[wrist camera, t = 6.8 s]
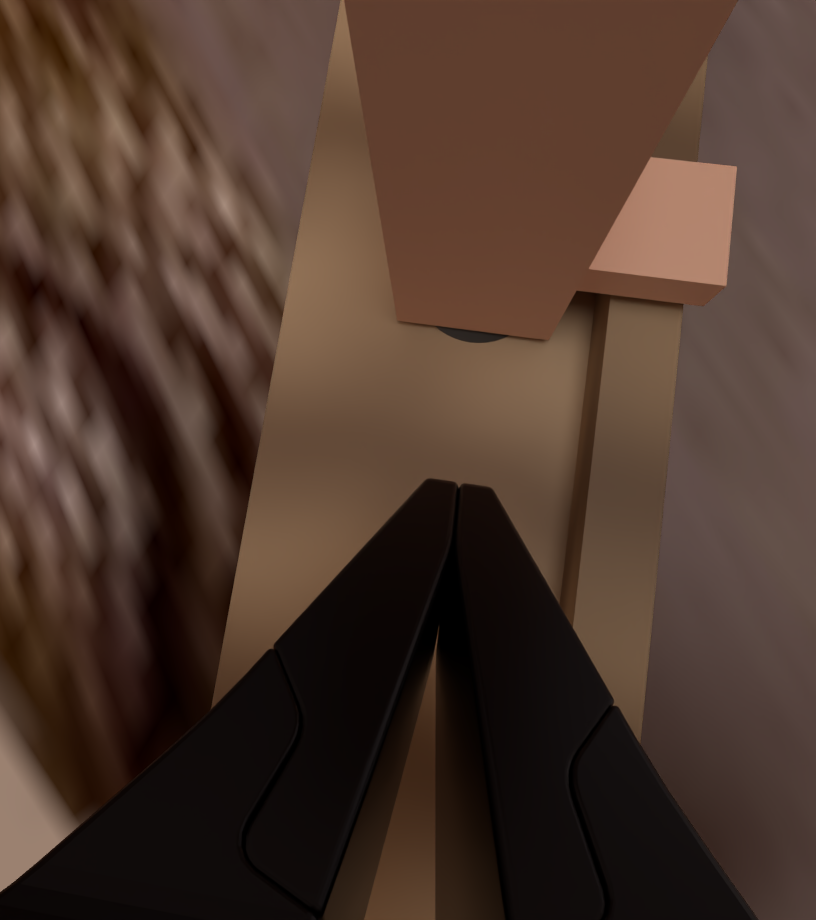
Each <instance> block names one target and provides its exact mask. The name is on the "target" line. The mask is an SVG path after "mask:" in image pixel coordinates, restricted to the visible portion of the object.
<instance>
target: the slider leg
mask: <svg viewBox="0 0 816 920" xmlns="http://www.w3.org/2000/svg"><path fill="white" fill-rule="evenodd" d="M737 1H738V0H344V3H345V9H346V15H347V21H348V27H349V33H350V39H351V45H352V51H353V57H354V63H355V69H356V75H357V81H358V87H359V93H360V99H361V105H362V111H363V117H364V123H365V130H366V136H367V142H368V148H369V154H370V160H371V166H372V172H373V178H374V184H375V190H376V196H377V202H378V208H379V214H380V220H381V226H382V232H383V238H384V244H385V250H386V256H387V262H388V268H389V274H390V280H391V286H392V292H393V298H394V304H395V310H396V316H397V321H404V322H411V323H419V324H427V325H434V326H442V327H450V328H457V329H465V330H473V331H481V332H488V333H496V334H504V335H511V336H519V337H527V338H534V339H542V340H549V339H550V337H551V336H552V334H553V332H554V330H555V328H556V327H557V325H558V323H559V321H560V319H561V318H562V316H563V314H564V312H565V310H566V309H567V307H568V305H569V303H570V301H571V300H572V298H573V296H574V294H575V292H576V291H585V292H593V293H601V294H609V295H617V296H625V297H633V298H641V299H649V300H657V301H665V302H673V303H681V304H689V305H697V306H704V305H705V304H707V303H708V302H709V301H710V300H711V299H712V298H713V297H714V296H716V295H717V294H718V293H719V292H720V291H721V290H722V289H723V288H725V287H726V283H727V272H728V261H729V250H730V238H731V227H732V216H733V205H734V194H735V182H736V171H737V167H735V166H726V165H717V164H708V163H699V162H690V161H681V160H672V159H663V158H654V157H651V156H652V154H653V152H654V150H655V149H656V147H657V145H658V143H659V141H660V140H661V138H662V136H663V134H664V132H665V131H666V129H667V127H668V125H669V124H670V122H671V120H672V118H673V116H674V115H675V113H676V111H677V109H678V107H679V106H680V104H681V102H682V100H683V98H684V97H685V95H686V93H687V91H688V89H689V88H690V86H691V84H692V82H693V80H694V79H695V77H696V75H697V73H698V71H699V70H700V68H701V66H702V64H703V62H704V61H705V59H706V57H707V55H708V53H709V52H710V50H711V48H712V46H713V44H714V43H715V41H716V39H717V37H718V35H719V34H720V32H721V30H722V28H723V27H724V25H725V23H726V21H727V19H728V18H729V16H730V14H731V12H732V10H733V9H734V7H735V5H736V3H737Z"/></svg>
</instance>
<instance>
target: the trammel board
mask: <svg viewBox="0 0 816 920" xmlns="http://www.w3.org/2000/svg"><path fill="white" fill-rule="evenodd" d="M707 58H708V55H707V57H706V59H705V61H704V62H703V64H702V66H701V68H700V70H699V71H698V73H697V75H696V77H695V79H694V80H693V82H692V84H691V86H690V88H689V89H688V91H687V93H686V95H685V97H684V98H683V100H682V102H681V104H680V106H679V107H678V109H677V111H676V113H675V115H674V116H673V118H672V120H671V122H670V124H669V125H668V127H667V129H666V131H665V132H664V134H663V136H662V138H661V140H660V141H659V143H658V145H657V147H656V149H655V150H654V152H653V154H652V156H651V157H654V158H663V159H672V160H681V161H690V162H697V160H698V150H699V140H700V130H701V119H702V109H703V99H704V89H705V79H706V68H707ZM682 313H683V304H681V303H673V302H665V301H657V300H649V299H641V298H633V297H625V296H617V295H609V294H601V293H593V292H585V291H576V292H575V294H574V296H573V298H572V300H571V301H570V303H569V305H568V307H567V309H566V310H565V312H564V314H563V316H562V318H561V319H560V321H559V323H558V325H557V327H556V328H555V330H554V332H553V334H552V336H551V337H550V339H549V340H542V339H534V338H527V337H519V336H511V335H504V334H496V333H488V332H481V331H473V330H465V329H457V328H450V327H442V326H434V325H427V324H419V323H411V322H404V321H397V316H396V310H395V304H394V298H393V292H392V286H391V280H390V274H389V268H388V262H387V256H386V250H385V244H384V238H383V232H382V226H381V220H380V214H379V208H378V202H377V196H376V190H375V184H374V178H373V172H372V166H371V160H370V154H369V148H368V142H367V136H366V130H365V123H364V117H363V111H362V105H361V99H360V93H359V87H358V81H357V75H356V69H355V63H354V57H353V51H352V45H351V39H350V33H349V27H348V21H347V15H346V9H345V3H344V0H341V2H340V7H339V13H338V18H337V23H336V29H335V34H334V40H333V45H332V51H331V56H330V62H329V67H328V73H327V78H326V83H325V89H324V94H323V100H322V105H321V111H320V116H319V122H318V127H317V133H316V138H315V144H314V149H313V154H312V160H311V165H310V171H309V176H308V182H307V187H306V193H305V198H304V204H303V209H302V215H301V220H300V225H299V231H298V236H297V242H296V247H295V253H294V258H293V264H292V269H291V275H290V280H289V285H288V291H287V296H286V302H285V307H284V313H283V318H282V324H281V329H280V335H279V340H278V346H277V351H276V356H275V362H274V367H273V373H272V378H271V384H270V389H269V395H268V400H267V406H266V411H265V416H264V422H263V427H262V433H261V438H260V444H259V449H258V455H257V460H256V466H255V471H254V477H253V482H252V487H251V493H250V498H249V504H248V509H247V515H246V520H245V526H244V531H243V537H242V542H241V548H240V553H239V558H238V564H237V569H236V575H235V580H234V586H233V591H232V597H231V602H230V608H229V613H228V618H227V624H226V629H225V635H224V640H223V646H222V651H221V657H220V662H219V668H218V673H217V679H216V684H215V689H214V695H213V700H212V706H211V709H212V708H213V707H214V706H215V705H216V704H217V703H218V702H219V701H220V700H221V699H222V698H223V697H224V696H225V695H226V694H227V693H228V691H229V690H230V689H231V688H232V687H233V686H234V685H235V684H236V683H237V682H238V681H239V680H240V679H241V678H242V677H243V676H244V675H245V674H246V673H247V672H248V671H249V670H250V669H251V668H252V667H253V665H254V664H255V663H256V662H257V661H258V660H259V659H260V658H261V657H262V656H263V655H264V653H265V652H266V651H267V650H268V649H274V648H273V645H274V643H275V642H276V641H277V640H278V639H279V638H280V637H281V635H282V634H283V633H284V632H285V631H286V630H287V629H288V628H289V627H290V626H291V625H292V624H293V622H294V621H295V620H296V619H297V618H298V617H299V616H300V615H301V614H302V613H303V612H304V610H305V609H306V608H307V607H308V606H309V605H310V604H311V603H312V602H313V601H314V600H315V599H316V597H317V596H318V595H319V594H320V593H321V592H322V591H323V590H324V589H325V588H326V587H327V586H328V584H329V583H330V582H331V581H332V580H333V579H334V578H335V577H336V576H337V575H338V574H339V572H340V571H341V570H342V569H343V568H344V567H345V566H346V565H347V564H348V563H349V562H350V561H351V559H352V558H353V557H354V556H355V555H356V554H357V553H358V552H359V551H360V550H361V549H362V547H363V546H364V545H365V544H366V543H367V542H368V541H369V540H370V539H371V538H372V537H373V536H374V534H375V533H376V532H377V531H378V530H379V529H380V528H381V527H382V526H383V525H384V524H385V523H386V521H387V520H388V519H389V518H390V517H391V516H392V515H393V514H394V513H395V512H396V511H397V509H398V508H399V507H400V506H401V505H402V504H403V503H404V502H405V501H406V500H407V499H408V498H409V496H410V495H411V494H412V493H413V492H414V491H415V490H416V489H417V488H418V487H419V486H420V485H421V483H422V482H423V481H424V480H426V479H428V478H434V479H441V480H448V481H454V482H456V483H457V484H458V489H459V486H460V485H461V484H463V483H468V484H475V485H482V486H488V487H491V488H492V489H493V490H494V491H495V493H496V495H497V497H498V498H499V500H500V502H501V504H502V505H503V507H504V509H505V510H506V512H507V514H508V516H509V517H510V519H511V521H512V523H513V524H514V526H515V528H516V530H517V531H518V533H519V535H520V537H521V538H522V540H523V542H524V544H525V545H526V547H527V549H528V551H529V552H530V554H531V556H532V557H533V559H534V561H535V563H536V564H537V566H538V568H539V570H540V571H541V573H542V575H543V577H544V578H545V580H546V582H547V584H548V585H549V587H550V589H551V591H552V592H553V594H554V596H555V598H556V599H557V601H558V603H559V604H560V606H561V608H562V610H563V611H564V613H565V615H566V617H567V618H568V620H569V622H570V624H571V625H572V627H573V629H574V631H575V632H576V634H577V636H578V638H579V639H580V641H581V643H582V645H583V646H584V648H585V650H586V651H587V653H588V655H589V657H590V658H591V660H592V662H593V664H594V665H595V667H596V669H597V671H598V672H599V674H600V676H601V678H602V679H603V681H604V683H605V685H606V686H607V688H608V690H609V692H610V693H611V695H612V697H613V699H614V704H613V706H614V705H615V706H618V707H619V708H620V710H621V712H622V714H623V715H624V717H625V719H626V721H627V722H628V724H629V726H630V728H631V730H632V731H633V733H634V735H635V737H636V738H637V740H638V742H639V743H640V742H641V732H642V722H643V711H644V701H645V691H646V681H647V671H648V660H649V650H650V640H651V630H652V620H653V609H654V599H655V589H656V579H657V569H658V558H659V548H660V538H661V528H662V518H663V507H664V497H665V487H666V477H667V466H668V456H669V446H670V436H671V426H672V415H673V405H674V395H675V385H676V375H677V364H678V354H679V344H680V334H681V324H682ZM438 629H439V628H438ZM437 638H438V634H437ZM436 648H437V640H436V646H435V652H434V656H433V660H432V665H431V669H430V673H429V677H428V680H427V684H426V688H425V692H424V695H423V699H422V703H421V707H420V710H419V714H418V718H417V722H416V726H415V729H414V733H413V737H412V741H411V744H410V748H409V752H408V756H407V759H406V763H405V767H404V771H403V775H402V778H401V782H400V786H399V790H398V793H397V797H396V801H395V805H394V808H393V812H392V816H391V820H390V824H389V827H388V831H387V835H386V839H385V842H384V846H383V850H382V854H381V857H380V861H379V865H378V869H377V873H376V876H375V880H374V884H373V888H372V891H371V895H370V899H369V903H368V906H367V910H366V914H365V918H364V920H435V707H436Z"/></svg>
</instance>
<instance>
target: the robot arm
mask: <svg viewBox="0 0 816 920" xmlns="http://www.w3.org/2000/svg"><path fill="white" fill-rule="evenodd" d="M438 628H439V629H438ZM437 634H438V638H437ZM436 640H437V648H436V707H435V920H758V918H757V917H756V915H755V914H754V913H753V911H752V910H751V908H750V907H749V906H748V904H747V903H746V901H745V900H744V899H743V897H742V896H741V894H740V893H739V892H738V890H737V889H736V887H735V886H734V885H733V883H732V882H731V880H730V879H729V877H728V876H727V875H726V873H725V872H724V870H723V869H722V868H721V866H720V865H719V863H718V862H717V861H716V859H715V858H714V856H713V855H712V854H711V852H710V851H709V849H708V848H707V846H706V845H705V843H704V842H703V841H702V839H701V838H700V836H699V835H698V833H697V832H696V830H695V829H694V827H693V826H692V824H691V823H690V822H689V820H688V819H687V817H686V816H685V814H684V813H683V811H682V810H681V808H680V807H679V805H678V804H677V802H676V801H675V799H674V798H673V797H672V795H671V794H670V792H669V791H668V789H667V787H666V786H665V784H664V783H663V781H662V779H661V778H660V776H659V774H658V773H657V771H656V769H655V768H654V766H653V765H652V763H651V761H650V760H649V758H648V756H647V755H646V753H645V751H644V750H643V748H642V746H641V745H640V743H639V742H638V740H637V738H636V737H635V735H634V733H633V731H632V730H631V728H630V726H629V724H628V722H627V721H626V719H625V717H624V715H623V714H622V712H621V710H620V708H619V707H618V706H615V705H614V706H613V704H614V699H613V697H612V695H611V693H610V692H609V690H608V688H607V686H606V685H605V683H604V681H603V679H602V678H601V676H600V674H599V672H598V671H597V669H596V667H595V665H594V664H593V662H592V660H591V658H590V657H589V655H588V653H587V651H586V650H585V648H584V646H583V645H582V643H581V641H580V639H579V638H578V636H577V634H576V632H575V631H574V629H573V627H572V625H571V624H570V622H569V620H568V618H567V617H566V615H565V613H564V611H563V610H562V608H561V606H560V604H559V603H558V601H557V599H556V598H555V596H554V594H553V592H552V591H551V589H550V587H549V585H548V584H547V582H546V580H545V578H544V577H543V575H542V573H541V571H540V570H539V568H538V566H537V564H536V563H535V561H534V559H533V557H532V556H531V554H530V552H529V551H528V549H527V547H526V545H525V544H524V542H523V540H522V538H521V537H520V535H519V533H518V531H517V530H516V528H515V526H514V524H513V523H512V521H511V519H510V517H509V516H508V514H507V512H506V510H505V509H504V507H503V505H502V504H501V502H500V500H499V498H498V497H497V495H496V493H495V491H494V490H493V489H492V488H491V487H488V486H482V485H475V484H468V483H463V484H461V485H460V486H459V489H458V484H457V483H456V482H454V481H448V480H441V479H434V478H428V479H426V480H424V481H423V482H422V483H421V485H420V486H419V487H418V488H417V489H416V490H415V491H414V492H413V493H412V494H411V495H410V496H409V498H408V499H407V500H406V501H405V502H404V503H403V504H402V505H401V506H400V507H399V508H398V509H397V511H396V512H395V513H394V514H393V515H392V516H391V517H390V518H389V519H388V520H387V521H386V523H385V524H384V525H383V526H382V527H381V528H380V529H379V530H378V531H377V532H376V533H375V534H374V536H373V537H372V538H371V539H370V540H369V541H368V542H367V543H366V544H365V545H364V546H363V547H362V549H361V550H360V551H359V552H358V553H357V554H356V555H355V556H354V557H353V558H352V559H351V561H350V562H349V563H348V564H347V565H346V566H345V567H344V568H343V569H342V570H341V571H340V572H339V574H338V575H337V576H336V577H335V578H334V579H333V580H332V581H331V582H330V583H329V584H328V586H327V587H326V588H325V589H324V590H323V591H322V592H321V593H320V594H319V595H318V596H317V597H316V599H315V600H314V601H313V602H312V603H311V604H310V605H309V606H308V607H307V608H306V609H305V610H304V612H303V613H302V614H301V615H300V616H299V617H298V618H297V619H296V620H295V621H294V622H293V624H292V625H291V626H290V627H289V628H288V629H287V630H286V631H285V632H284V633H283V634H282V635H281V637H280V638H279V639H278V640H277V641H276V642H275V643H274V645H273V648H274V649H268V650H267V651H266V652H265V653H264V655H263V656H262V657H261V658H260V659H259V660H258V661H257V662H256V663H255V664H254V665H253V667H252V668H251V669H250V670H249V671H248V672H247V673H246V674H245V675H244V676H243V677H242V678H241V679H240V680H239V681H238V682H237V683H236V684H235V685H234V686H233V687H232V688H231V689H230V690H229V691H228V693H227V694H226V695H225V696H224V697H223V698H222V699H221V700H220V701H219V702H218V703H217V704H216V705H215V706H214V707H213V708H212V709H211V710H210V711H209V712H208V713H207V714H206V715H205V716H203V717H202V718H201V719H200V720H199V721H198V722H197V723H196V724H195V725H193V726H192V727H191V728H190V729H189V730H188V731H187V732H186V733H185V734H184V735H183V736H181V737H180V738H179V739H178V740H177V741H176V742H175V743H174V744H173V745H172V746H170V747H169V748H168V749H167V750H166V751H165V752H164V753H163V754H162V755H160V756H159V757H158V758H157V759H156V760H155V761H153V762H152V763H151V764H150V765H149V766H148V767H147V768H145V769H144V770H143V771H142V772H141V773H140V774H139V775H137V776H136V777H135V778H134V779H133V780H132V781H130V782H129V783H128V784H127V785H126V786H125V787H124V788H122V789H121V790H120V791H119V792H118V793H117V794H115V795H114V796H113V797H112V798H111V799H110V800H109V801H107V802H106V803H105V804H104V805H103V806H102V807H101V808H99V809H98V810H97V811H96V812H95V813H94V814H92V815H91V816H90V817H89V818H88V819H87V820H86V821H84V822H83V823H82V824H81V825H80V826H79V827H77V828H76V829H75V830H74V831H73V832H72V833H71V834H69V835H68V836H67V837H66V838H65V839H64V840H63V841H61V842H60V843H59V844H58V845H57V846H56V847H55V848H53V849H52V850H51V851H50V852H49V853H48V854H46V855H45V856H44V857H43V858H42V859H41V860H40V861H38V862H37V863H36V864H35V865H34V866H33V867H31V868H30V869H29V870H28V871H26V872H25V873H24V874H23V875H22V876H20V877H19V878H18V879H17V880H16V881H15V882H13V883H12V884H11V885H10V886H8V887H7V888H5V889H4V890H2V891H1V892H0V920H364V918H365V914H366V910H367V906H368V903H369V899H370V895H371V891H372V888H373V884H374V880H375V876H376V873H377V869H378V865H379V861H380V857H381V854H382V850H383V846H384V842H385V839H386V835H387V831H388V827H389V824H390V820H391V816H392V812H393V808H394V805H395V801H396V797H397V793H398V790H399V786H400V782H401V778H402V775H403V771H404V767H405V763H406V759H407V756H408V752H409V748H410V744H411V741H412V737H413V733H414V729H415V726H416V722H417V718H418V714H419V710H420V707H421V703H422V699H423V695H424V692H425V688H426V684H427V680H428V677H429V673H430V669H431V665H432V660H433V656H434V652H435V646H436Z"/></svg>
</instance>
